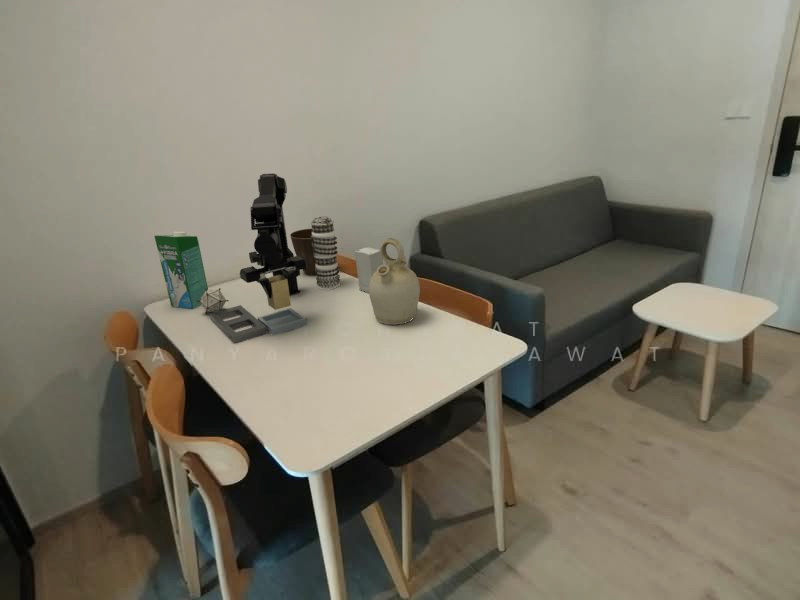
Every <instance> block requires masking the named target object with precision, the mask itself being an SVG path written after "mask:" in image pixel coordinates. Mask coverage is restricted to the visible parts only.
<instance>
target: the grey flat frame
mask: <svg viewBox="0 0 800 600" xmlns="http://www.w3.org/2000/svg"><path fill="white" fill-rule="evenodd" d="M236 315H237V316H239V317H236ZM229 317H230V318H232V317H235V318H232V319H230V318H229ZM209 318H210V320H211V321H212V322H213V324H214V325H215V326H216V327H218V329H219V330H221V332H222V333H223V334H224V335H225V336H226V337H227V338H228V339H229V340H230V341H231V342H232V344H234V343H235V344H237V343H241V342H244V341H247V339H248V340H250V339H254V338H256V337H259V336H264V335H266V333H267V334H268V333H269V332H268V331H267V327H266V326H265V325H264V324H262V323H261V322H260V321H259V320H258V318H257V317H256V316H254V315H253V314H252V313H251V312H249V311H248V310H247V309H246V308H245V307H243V306H242V305H241V304H240V305H236V306H233V307H229V308H226V309H221V311H217V312H209ZM225 318H226V319H228V320H226V319H225ZM247 325H248V326H251V327H248V328H246V329H242V330H238V329H241V328H244V327H243V326H245V327H247ZM240 327H241V328H240ZM237 328H238V329H237ZM234 329H235V330H238V331H235V330H234ZM263 334H264V335H263Z"/></svg>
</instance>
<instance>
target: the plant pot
mask: <svg viewBox="0 0 800 600" xmlns="http://www.w3.org/2000/svg"><path fill="white" fill-rule="evenodd" d="M311 234H312V228H305V229H304V228H303V229H299V230H296V231H293V232H291V233H290V235H289V236H290V240H291V243H292V246H293V250H294V252H295V253H294V254H295V256H299V257H301V258H303V259H305V260H306V262H307V267H308V268H306V269H302V271H303V273H304V275H307V276H317V275H316V271H315V268H316V265H315V264H316V260H315V257H314V254H313V253H314V251H312V248H313V247H312V243H313V242H312V241H311V238H312V237H310V235H311ZM313 240H314V239H313ZM314 250H315V249H314Z"/></svg>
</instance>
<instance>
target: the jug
mask: <svg viewBox="0 0 800 600" xmlns="http://www.w3.org/2000/svg"><path fill="white" fill-rule="evenodd" d="M388 245H392V246H394V247H395V250H396V251H397V258H392V257H390V256H389V255H388V253H387V246H388ZM379 250H380V253H381V256H382V260H383V261H384V262H385V263H386V264H383V265H381V266H379V267H378V269H377V271H376V272H375V273H374V274H373V275H372V277H371V280H370V283H369V293H368V294H369V299H370V304H371V307H372V310H373V314H374V316H375V320H376V319H377V320H376V321H377V322H378V321H379V322H378V323H380V322H381V323H380V324H383V323H384V324H383V325H387V324H400V325H402V324H401V323H405V322H408V321H410V320H411V319H412V318H414V316H415V317H416V314H417V310H418V304H419V301H420V300H419V299H420V294H421V286H420V280H419V279H418V277H417V274H416V273H415V272H414V271H413V270H412V269H411V268H409V267H407V266H406V265H407V264H408V262H407V259H406V255H405V249H404V246H403V244H402V243H401V242H400V241H399V240H398V239H396V238H392V237H391V238H386V239H385V240H384V241H382V243H381V245H380V249H379ZM414 319H415V318H414ZM410 322H411V321H410ZM408 323H409V322H408ZM405 324H406V323H405Z"/></svg>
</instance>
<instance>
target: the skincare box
mask: <svg viewBox="0 0 800 600" xmlns="http://www.w3.org/2000/svg"><path fill="white" fill-rule="evenodd" d="M354 255H355V263H356V270H357V271H356V272H357V279H358V287H359V291H361V290H362V291H361V292H364V291H365V293H367V294H369V283H370V280H371V277H372V275H373V274H374V273H375V272H376V271H377V269H378V267H379V266H381V265H384V262H383V261H384V259H383V258H382V256H381V253H380V249H377V248H373V247H365V246H364V247H363V248H361V249H357V250H354Z"/></svg>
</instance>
